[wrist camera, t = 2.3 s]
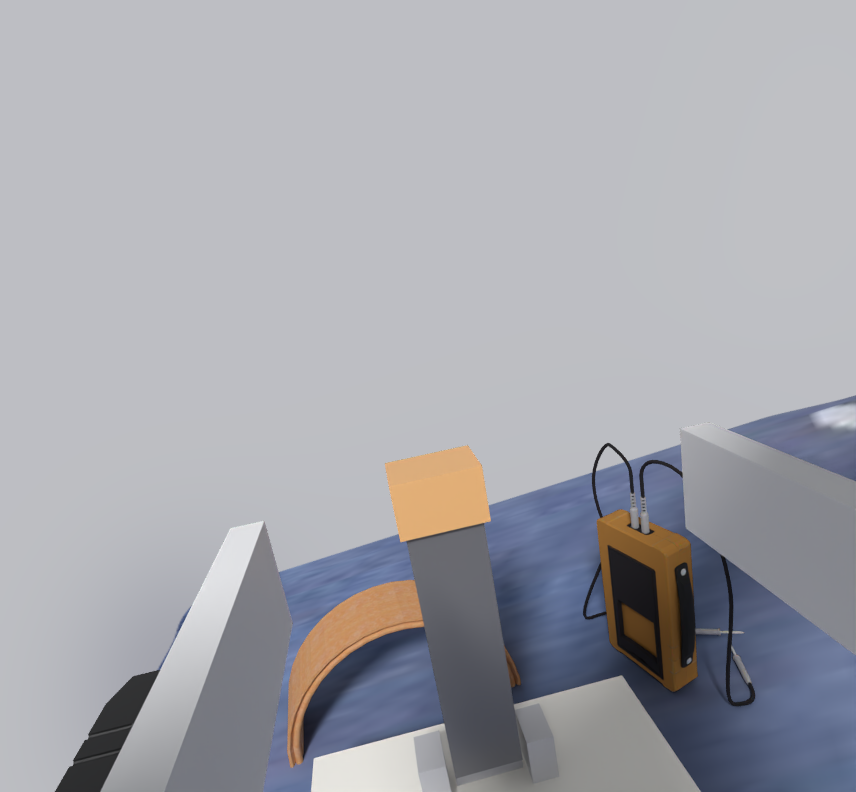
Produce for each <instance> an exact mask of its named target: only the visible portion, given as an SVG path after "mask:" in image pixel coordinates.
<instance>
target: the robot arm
mask: <svg viewBox="0 0 856 792" xmlns="http://www.w3.org/2000/svg"><path fill="white" fill-rule="evenodd" d="M680 438H681V455H682V472H683V489H684V506H685V523H686V529H688V530H689V531H690V532H692V533H693V534H694V535H696V536H697V537H698V538H700V539H701V540H702V541H704V542H705V543H706V544H708V545H709V546H710V547H712V548H713V549H714V550H716V551H717V552H718V553H720V554H721V555H722V556H724V557H725V558H726V559H728V560H729V561H730V562H732V563H733V564H734V565H736V566H737V567H738V568H740V569H741V570H742V571H744V572H745V573H746V574H748V575H749V576H750V577H752V578H753V579H754V580H756V581H757V582H758V583H760V584H761V585H762V586H764V587H765V588H766V589H768V590H769V591H770V592H772V593H773V594H774V595H776V596H777V597H778V598H780V599H781V600H782V601H784V602H785V603H786V604H788V605H789V606H790V607H792V608H793V609H794V610H796V611H797V612H798V613H800V614H801V615H802V616H804V617H805V618H806V619H808V620H809V621H810V622H812V623H813V624H814V625H816V626H817V627H818V628H820V629H821V630H822V631H824V632H825V633H826V634H828V635H829V636H830V637H832V638H833V639H834V640H836V641H837V642H838V643H840V644H841V645H842V646H844V647H845V648H846V649H848V650H849V651H850V652H852V653H853V654H854V655H856V482H855V481H853V480H851V479H848V478H846V477H843V476H841V475H838V474H836V473H833V472H831V471H828V470H826V469H823V468H821V467H818V466H816V465H813V464H811V463H808V462H806V461H803V460H801V459H799V458H796V457H794V456H791V455H789V454H786V453H784V452H781V451H779V450H776V449H774V448H771V447H769V446H766V445H764V444H761V443H759V442H756V441H754V440H751V439H749V438H747V437H744V436H742V435H739V434H737V433H734V432H732V431H729V430H727V429H724V428H722V427H719V426H716V425H714V424H712V423H709V422H707V423H703V424H698V425H693V426H689V427H684V428H680ZM292 624H293V623H292V619H291V616H290V612H289V608H288V605H287V601H286V597H285V594H284V590H283V587H282V583H281V579H280V576H279V572H278V569H277V565H276V561H275V558H274V554H273V551H272V547H271V544H270V540H269V536H268V533H267V529H266V526H265V522H264V521H261V522H257V523H252V524H248V525H243V526H238V527H234V528H230V530H229V532H228V534H227V536H226V538H225V540H224V542H223V544H222V546H221V548H220V550H219V552H218V554H217V556H216V558H215V560H214V563H213V564H212V566H211V569H210V570H209V572H208V575H207V577H206V579H205V581H204V583H203V585H202V587H201V589H200V591H199V593H198V595H197V597H196V599H195V601H194V603H193V605H192V607H191V609H190V611H189V613H188V615H187V617H186V619H185V621H184V623H183V625H182V627H181V629H180V631H179V633H178V635H177V637H176V639H175V641H174V643H173V645H172V647H171V649H170V652H169V654H168V656H167V658H166V660H165V662H164V664H163V666H162V668H161V670H157V671H153V672H149V673H145V674H141V675H137V676H133V677H132V678H131V679H130V680H129V681H128V682H127V683H126V684H125V685H124V686H123V687H122V688H121V689H120V690H119V691H118V692H117V693H116V694H115V695H114V696H113V697H112V698H111V699H110V701H109V702H108V703H107V704H106V705H105V707H104V708H103V710H102V712H101V713H100V715H99V717H98V719H97V720H96V722H95V724H94V725H93V727H92V729H91V731H90V732H89V734H88V735H89V738H88V740H85V741H84V743H83V744H82V746H81V748H80V749H79V751H78V753H77V755H76V756H75V758H74V760H73V761H74V764H73V766H71V767H69V768H68V770H67V772H66V774H65V775H64V777H63V779H62V780H61V782H60V784H59V786H58V788H57V789H56V791H55V792H263V788H264V782H265V777H266V771H267V765H268V760H269V754H270V748H271V743H272V737H273V731H274V726H275V720H276V714H277V709H278V703H279V697H280V692H281V686H282V680H283V675H284V669H285V663H286V658H287V652H288V646H289V641H290V635H291V629H292Z"/></svg>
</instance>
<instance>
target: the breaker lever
mask: <svg viewBox="0 0 856 792" xmlns="http://www.w3.org/2000/svg"><path fill="white" fill-rule="evenodd" d="M385 467H386V473H387V478H388V484H389V489H390V494H391V499H392V503H393V508H394V513H395V518H396V523H397V527H398V532H399V537H400V542H404V541H407V545H408V550H409V555H410V560H411V565H412V569H413V574H414V579H415V584H416V589H417V594H418V599H419V603H420V608H421V613H422V618H423V623H424V628H425V632H426V637H427V642H428V647H429V652H430V657H431V661H432V666H433V671H434V676H435V681H436V686H437V690H438V695H439V700H440V705H441V710H442V715H443V719H444V724H445V729H446V734H447V739H448V744H449V749H450V753H451V758H452V763H453V768H454V773H455V778H456V782H457V786H459V785H463V784H467V783H470V782H474V781H477V780H481V779H484V778H488V777H491V776H495V775H498V774H502V773H505V772H509V771H513V770H516V769H520V768H523V762H522V760H523V758H522V752H521V746H520V740H519V734H518V727H517V721H516V715H515V709H514V703H513V697H512V691H511V685H510V679H509V673H508V667H507V661H506V654H505V648H504V642H503V636H502V630H501V624H500V618H499V612H498V606H497V600H496V594H495V587H494V581H493V575H492V569H491V563H490V557H489V551H488V545H487V539H486V533H485V527H484V523H485V522H489V521H491V519H490V513H489V507H488V501H487V495H486V488H485V482H484V476H483V470H482V465H481V464H480V462H479V461H478V459H477V458H476V457H475V455H474V454H473V452H472V451H471V449H470V448H469V446H463V447H458V448H453V449H448V450H444V451H439V452H435V453H430V454H425V455H421V456H417V457H412V458H407V459H402V460H398V461H393V462H389V463H385Z"/></svg>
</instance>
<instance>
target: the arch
mask: <svg viewBox="0 0 856 792" xmlns="http://www.w3.org/2000/svg"><path fill="white" fill-rule="evenodd" d="M418 627H424V623H423V618H422V613H421V608H420V603H419V599H418V594H417V589H416V584H415V580H406V581H396V582H390V583H386V584H382V585H378V586H375V587H372V588H369V589H367V590H365V591H362V592H360V593H358V594H355V595H354V596H352V597H350V598H349V599H347V600H345V601H344V602H342V603H341V604H339V605H338V606H336V607H335V608H334V609H333V610H332V611H330V612H329V613H328V614H327V615H326V616H324V617H323V618H322V619H321V620H320V622H319V623H318V624H317V625H316V626H315V627H314V628H313V629H312V631H311V632H310V633H309V635H308V636H307V638H306V639H305V641H304V642H303V644H302V646H301V647H300V649H299V651H298V654H297V656H296V658H295V661H294V663H293V666H292V671H291V675H290V680H289V699H288V745H287V753H288V757H289V762H290V767H291V768H292V767H294V765H295V763H297V764H301V763H302V762H303V756H302V755H303V754H304V730H303V719H304V714H305V712H306V709H307V707H308V705H309V702H310V700H311V698H312V696H313V694H314V693H315V691H316V690H317V688H318V686H319V685H320V683H321V682H322V680H323V679H324V678H325V677H326V676H327V675H328V674H329V673H330V671H331V670H332V669H333V668H334V667H335V666H336V665H337V664H338V663H340V662H341V661H342V660H343V659H344V658H345V657H347V656H348V655H349V654H350V653H352V652H353V651H355V650H357V649H358V648H360V647H361V646H363V645H365V644H366V643H368V642H370V641H372V640H375V639H377V638H379V637H381V636H384V635H386V634H390V633H393V632H397V631H400V630H404V629H411V628H418ZM504 648H505V646H504ZM505 654H506V661H507V667H508V673H509V679H510V685H511V687H514V686H515V684H517V685H521V680H520V676H519V674H518V671H517V668H516V666H515V663H514V661H513V660H512V658H511V656H510V655H509V653H508V651H507V649H506V648H505Z"/></svg>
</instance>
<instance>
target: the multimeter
mask: <svg viewBox="0 0 856 792" xmlns="http://www.w3.org/2000/svg"><path fill="white" fill-rule="evenodd" d="M607 446H609V447H611V448H612V449H613V450H614V451H615V452H616V453H617V454H619V456H621V458H622V459H623V460H624V462H625V463H626V465H627V467H628V470H629V477H630V489H631V493H630V499H631V508H630V513H629V512H628V511H625V510H622V509H621V510H617V511H615V512H613V513H611V514H609V515H606V516H604V517H603V516H602V513H601V510H600V507H599V503H598V500H597V495H596V488H595V473H596V468H597V464H598V461H599V458H600V456H601V454H602V452H603V451H604V449H605V448H606V447H607ZM652 463H655V464H661V465H664V466H667V467H669V468H671V469H672V470H674V471H675V472H677V473H678V474H679V475H680V476H681V477H682V478H683V473H682V472H681V471H679V470H678V469H677V468H675V467H674V466H672V465H670V464H668V463H665V462H662V461H659V460H650V461H647V462H645V463H644V464H643V466H642V467H641V469H640V475H639V477H640V489H641V497H640V499H641V511H642V512H641V513H640V517H641V518H640V517H638V509H637V508H636V500H635V493H634V486H633V475H632V469H631V467H630V464H629V463H628V461H627V459H626V458H625V457H624V456H623V455H622V453H621V452H620V451H618V450H617V449H616V448H615V447H614V446H613V445H611V444H610V443H607V444H605V445H604V446H603V447H602V448H601V450H600V451H599V453H598V455H597V458H596V460H595V463H594V467H593V473H592V487H593V494H594V499H595V503H596V507H597V510H598V513H599V516H600V519H598V520H597V530H598V539H599V549H600V558H601V562H600V565H599V567H598V569H597V572H596V574H595V577H594V579H593V582H592V584H591V586H590V589H589V592H588V595H587V598H586V601H585V605H584V610H583V615H584V617H585V619H593V618H596V617H598V616H602V615H605V614H607V621H608V630H609V640H610V643H611V644H612V646H613V647H614V648H616V649H617V650H618V651H619V652H622V653H623V654H625V655H626V656H627V657H629V658H630V659H631V660H633V661H634V662H635V663H636V664H638V665H639V666H640V667H642V668H643V669H644V670H646V671H647V672H648V673H649V674H651V675H652V676H653V677H655V678H656V679H657V680H659V681H660V682H661V683H662V684H663V686H664V687H666V688H667V689H669V690H670V691H673V692H675V691H677V690H679V689H680V688H682V687H683V686H685V685H686V684H687V683H689V682H690V681H692V680H693V679H695V678H696V677H698V673H697V656H696V634H705V635H719V636H721V633H728V647H727V663H726V692H727V697H728V701H729V702H730V704H731V705H733V706H743V705H748V704H751V703H752V702H753V701H754V699H755V691H754V689H753V686H752V682H751V679H750V677H749V675H748V673H747V671H746V669H745V667H744V665H743V663H742V661H741V657H740V656H739V655H736V653H735V651H734V649H733V647H732V633H733V634H741V633H744V632H740V631H733V595H732V588H731V581H730V576H729V572H728V567H727V563H726V559H725V557H724V556H722V555H721V554H720V555H721V558H722V562H723V566H724V570H725V575H726V580H727V586H728V593H729V631H720V629H719V628H718V629H695V612H694V595H693V577H692V560H691V544H690V542H689V541H688V540H687V539H686V538H685V537H683V536H681V535H679V534H677V533H673V532H671V531H669V530H666V529H664V528H662V527H660V526H657V525H655V524H653V523H651V522H649V517H648V513H647V510H646V498H645V495H644V483H643V472H644V469H645V467H646V466H647V465H649V464H652ZM601 568H602V577H603V587H604V595H605V602H606V603H605V604H606V612H602V613H599V614H596V615H593V616H589V617H587V616H586V608H587V604H588V600H589V598H590V595H591V592H592V589H593V587H594V584H595V582H596V579H597V577H598V575H599V572H600V570H601ZM731 650H732V652H733V654H734V656H733V660H734V661H735V662H736V664H737V666H738V668H739V670H740V672H741V674H742V676H743V678H744V680H745V682H746V683H747V684H748V685H749V688H750V690H751V694H752V696H751V698H750V699H749V700H747V701H743V702H736V703H735V702H733V701H732V699H731V696H730V661H731Z"/></svg>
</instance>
